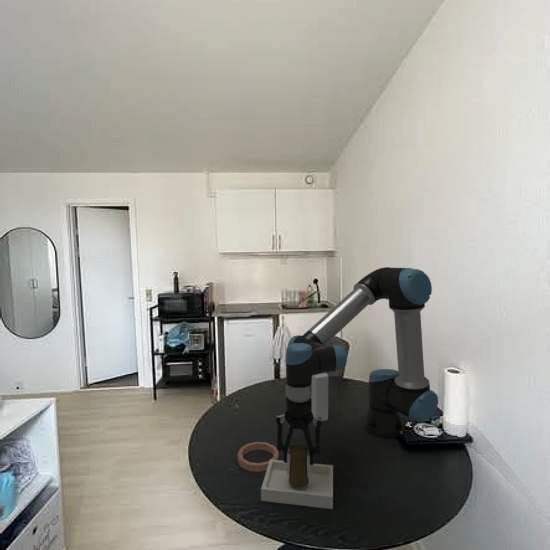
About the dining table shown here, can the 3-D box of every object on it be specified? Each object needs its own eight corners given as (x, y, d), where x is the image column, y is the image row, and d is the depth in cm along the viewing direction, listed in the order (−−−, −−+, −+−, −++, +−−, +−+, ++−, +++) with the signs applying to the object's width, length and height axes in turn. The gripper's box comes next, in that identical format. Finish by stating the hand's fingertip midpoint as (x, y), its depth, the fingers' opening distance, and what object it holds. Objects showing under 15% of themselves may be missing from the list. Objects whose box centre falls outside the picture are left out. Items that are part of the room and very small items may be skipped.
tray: (332, 476, 108) (332, 465, 107) (332, 509, 94) (332, 496, 94) (270, 469, 111) (270, 459, 111) (261, 500, 97) (261, 488, 97)
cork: (295, 490, 98) (295, 453, 97) (284, 477, 103) (284, 442, 103) (312, 483, 101) (313, 447, 100) (302, 471, 106) (302, 437, 105)
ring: (280, 449, 122) (280, 443, 122) (274, 473, 109) (274, 467, 109) (244, 446, 124) (244, 440, 124) (233, 469, 111) (233, 463, 111)
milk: (308, 417, 146) (308, 366, 145) (320, 413, 149) (320, 364, 148) (316, 423, 141) (316, 370, 139) (328, 419, 144) (328, 368, 142)
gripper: (330, 393, 103) (329, 468, 104) (270, 390, 106) (270, 462, 107) (330, 404, 95) (329, 485, 97) (265, 400, 98) (266, 478, 100)
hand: (298, 473), depth 102 cm, fingers closed on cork, 5 cm apart
